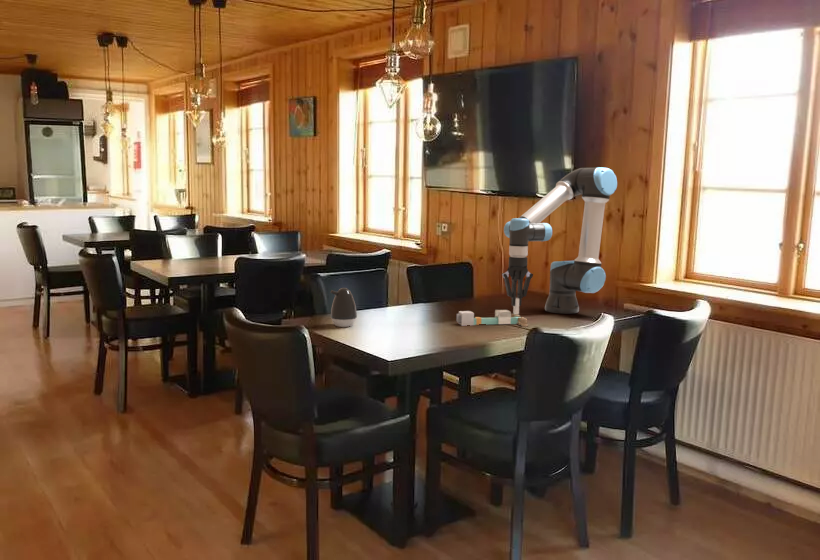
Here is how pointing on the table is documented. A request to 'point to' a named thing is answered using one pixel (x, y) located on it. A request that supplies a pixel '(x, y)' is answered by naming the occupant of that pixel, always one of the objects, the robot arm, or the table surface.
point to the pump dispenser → (343, 308)
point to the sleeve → (503, 316)
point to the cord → (478, 319)
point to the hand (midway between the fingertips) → (515, 313)
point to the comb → (520, 320)
